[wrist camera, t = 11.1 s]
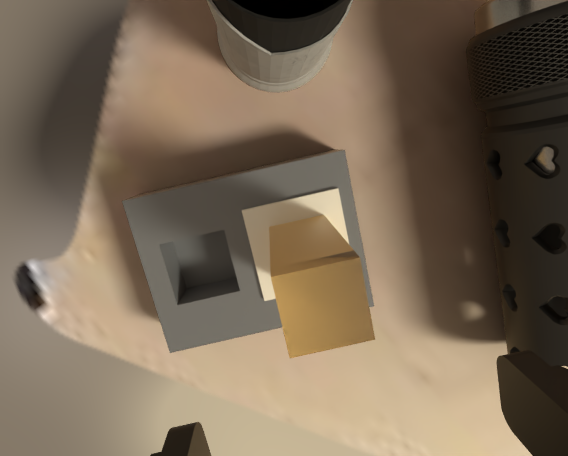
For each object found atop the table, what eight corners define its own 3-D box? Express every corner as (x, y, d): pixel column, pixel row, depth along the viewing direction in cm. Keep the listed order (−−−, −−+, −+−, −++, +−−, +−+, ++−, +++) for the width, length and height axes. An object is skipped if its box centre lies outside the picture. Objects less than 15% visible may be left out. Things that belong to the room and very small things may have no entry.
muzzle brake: (478, 355, 36) (562, 437, 25) (432, 32, 30) (518, -27, 20) (579, 330, 36) (704, 404, 25) (553, 3, 30) (702, -71, 20)
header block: (140, 194, 31) (120, 201, 27) (334, 149, 31) (345, 149, 27) (181, 328, 34) (169, 354, 29) (361, 287, 34) (375, 307, 29)
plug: (269, 226, 28) (270, 277, 17) (323, 214, 28) (360, 257, 17) (281, 278, 29) (289, 358, 18) (334, 267, 29) (375, 339, 18)
